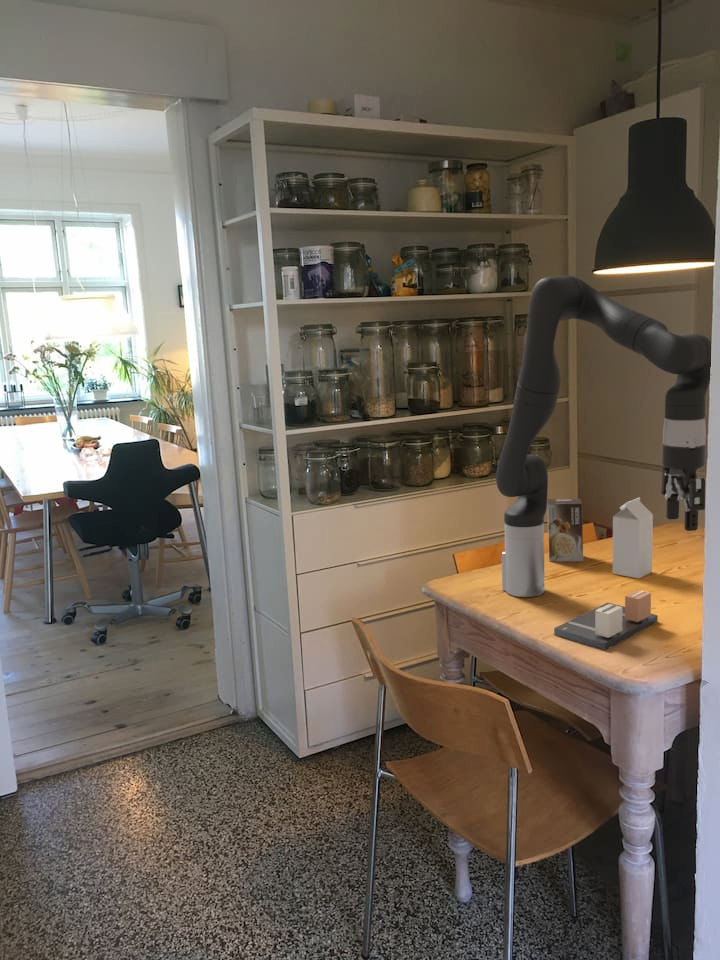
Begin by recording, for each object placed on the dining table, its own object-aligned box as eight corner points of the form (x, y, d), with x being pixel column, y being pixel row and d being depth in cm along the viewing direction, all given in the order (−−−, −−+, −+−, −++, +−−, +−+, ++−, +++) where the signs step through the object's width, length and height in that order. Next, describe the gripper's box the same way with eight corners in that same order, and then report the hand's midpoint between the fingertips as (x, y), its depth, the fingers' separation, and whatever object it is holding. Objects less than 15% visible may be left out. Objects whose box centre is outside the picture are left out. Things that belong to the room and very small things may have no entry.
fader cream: (595, 633, 161) (595, 609, 160) (609, 626, 164) (609, 602, 163) (608, 637, 159) (608, 613, 158) (622, 630, 162) (622, 606, 161)
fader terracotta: (624, 618, 168) (625, 595, 167) (637, 612, 171) (637, 589, 170) (638, 622, 166) (638, 598, 165) (650, 615, 169) (650, 592, 168)
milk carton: (652, 572, 202) (653, 499, 198) (638, 579, 197) (639, 504, 193) (626, 567, 207) (626, 495, 203) (612, 574, 202) (612, 501, 198)
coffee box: (582, 555, 219) (582, 498, 216) (583, 562, 213) (583, 503, 210) (547, 554, 221) (547, 498, 218) (548, 561, 215) (547, 503, 212)
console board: (554, 634, 166) (554, 627, 166) (607, 608, 179) (607, 601, 179) (605, 650, 157) (605, 642, 157) (657, 621, 170) (657, 614, 170)
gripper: (649, 437, 158) (648, 516, 161) (679, 449, 144) (677, 535, 147) (687, 435, 158) (685, 514, 161) (721, 446, 144) (717, 533, 147)
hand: (681, 524), depth 154 cm, fingers open, 8 cm apart
